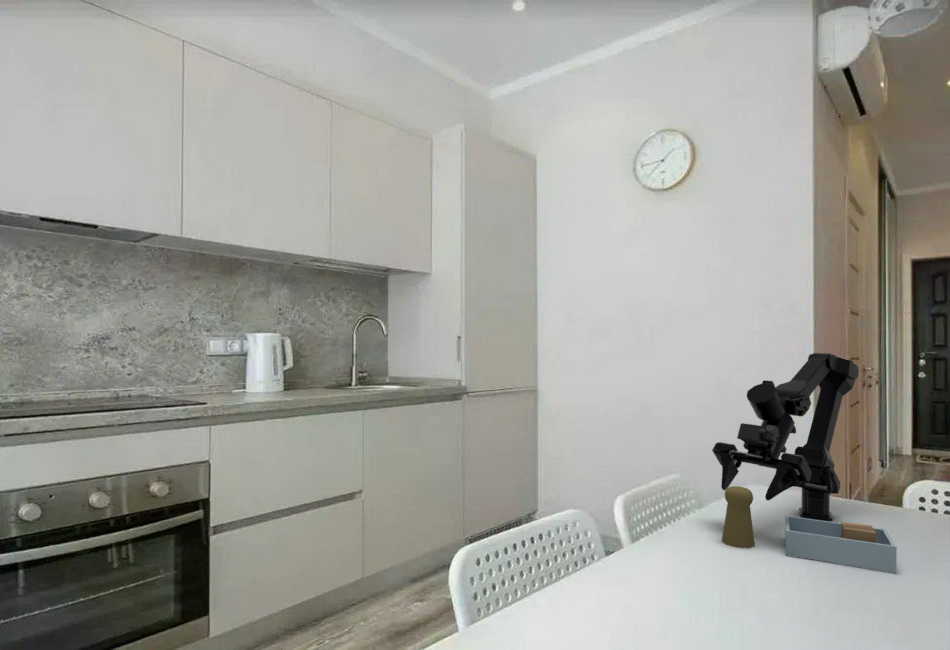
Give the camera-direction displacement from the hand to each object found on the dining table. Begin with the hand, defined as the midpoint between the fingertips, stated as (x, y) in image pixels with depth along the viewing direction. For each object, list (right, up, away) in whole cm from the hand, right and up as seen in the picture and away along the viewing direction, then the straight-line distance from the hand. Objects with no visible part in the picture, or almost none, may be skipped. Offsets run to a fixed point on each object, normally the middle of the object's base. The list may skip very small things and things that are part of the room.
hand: (744, 493), depth 120 cm
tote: (+14, -10, -7) cm, 19 cm away
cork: (-2, -10, -1) cm, 10 cm away
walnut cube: (+18, -9, -8) cm, 21 cm away
